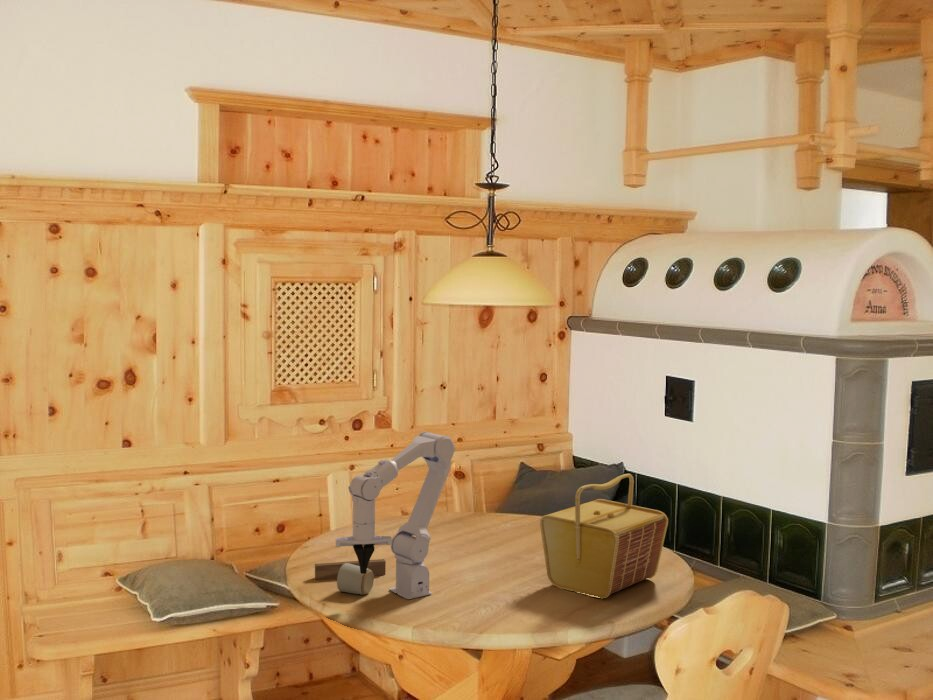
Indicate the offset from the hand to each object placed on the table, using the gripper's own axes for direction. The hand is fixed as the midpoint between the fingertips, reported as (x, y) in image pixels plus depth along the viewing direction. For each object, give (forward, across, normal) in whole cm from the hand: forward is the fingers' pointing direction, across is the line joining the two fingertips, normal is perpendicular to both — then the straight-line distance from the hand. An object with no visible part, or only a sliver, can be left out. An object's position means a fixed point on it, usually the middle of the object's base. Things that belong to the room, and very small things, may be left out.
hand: (363, 572), depth 263 cm
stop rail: (+8, +1, -24) cm, 25 cm away
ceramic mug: (+9, 0, -11) cm, 14 cm away
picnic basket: (+9, -69, -7) cm, 70 cm away
